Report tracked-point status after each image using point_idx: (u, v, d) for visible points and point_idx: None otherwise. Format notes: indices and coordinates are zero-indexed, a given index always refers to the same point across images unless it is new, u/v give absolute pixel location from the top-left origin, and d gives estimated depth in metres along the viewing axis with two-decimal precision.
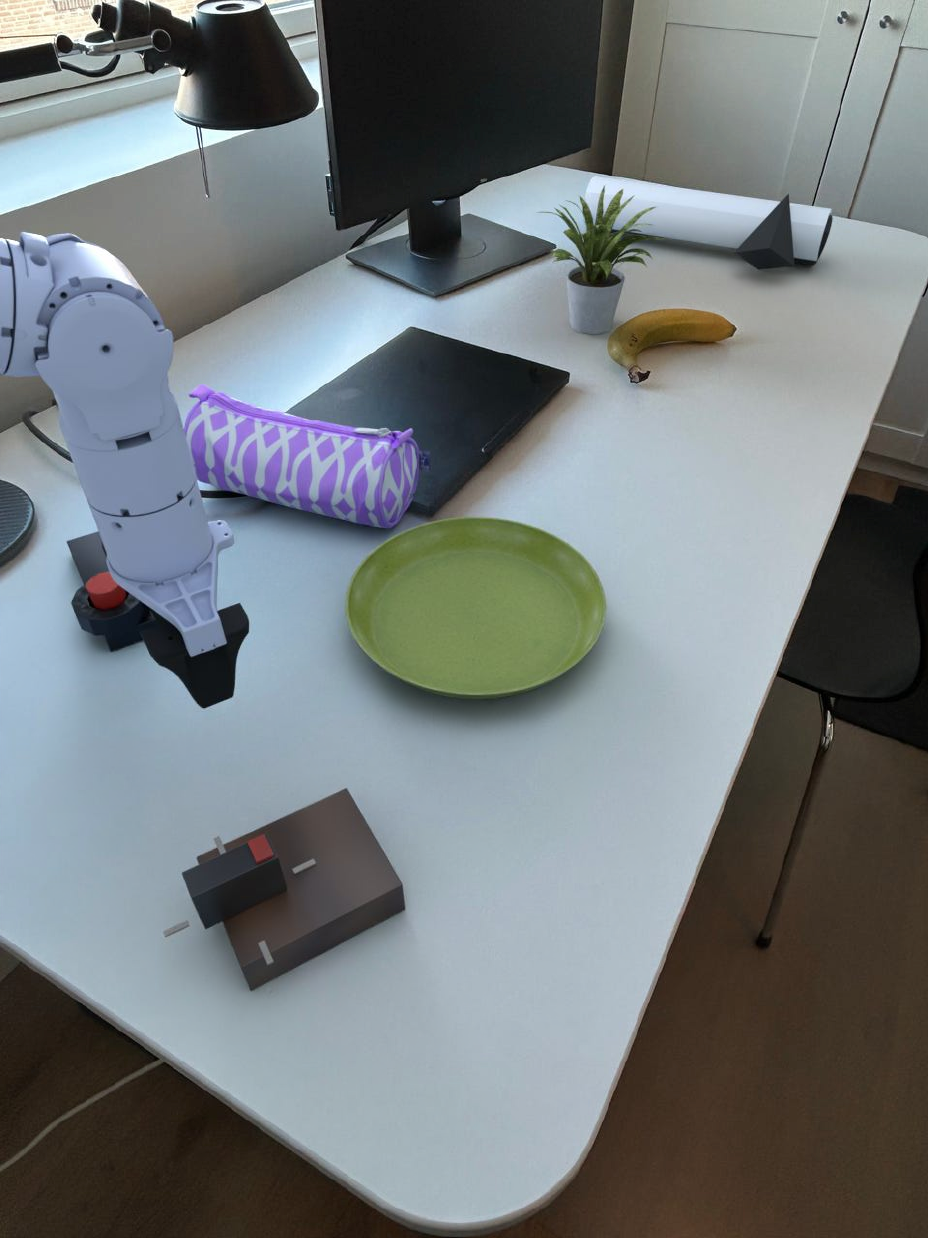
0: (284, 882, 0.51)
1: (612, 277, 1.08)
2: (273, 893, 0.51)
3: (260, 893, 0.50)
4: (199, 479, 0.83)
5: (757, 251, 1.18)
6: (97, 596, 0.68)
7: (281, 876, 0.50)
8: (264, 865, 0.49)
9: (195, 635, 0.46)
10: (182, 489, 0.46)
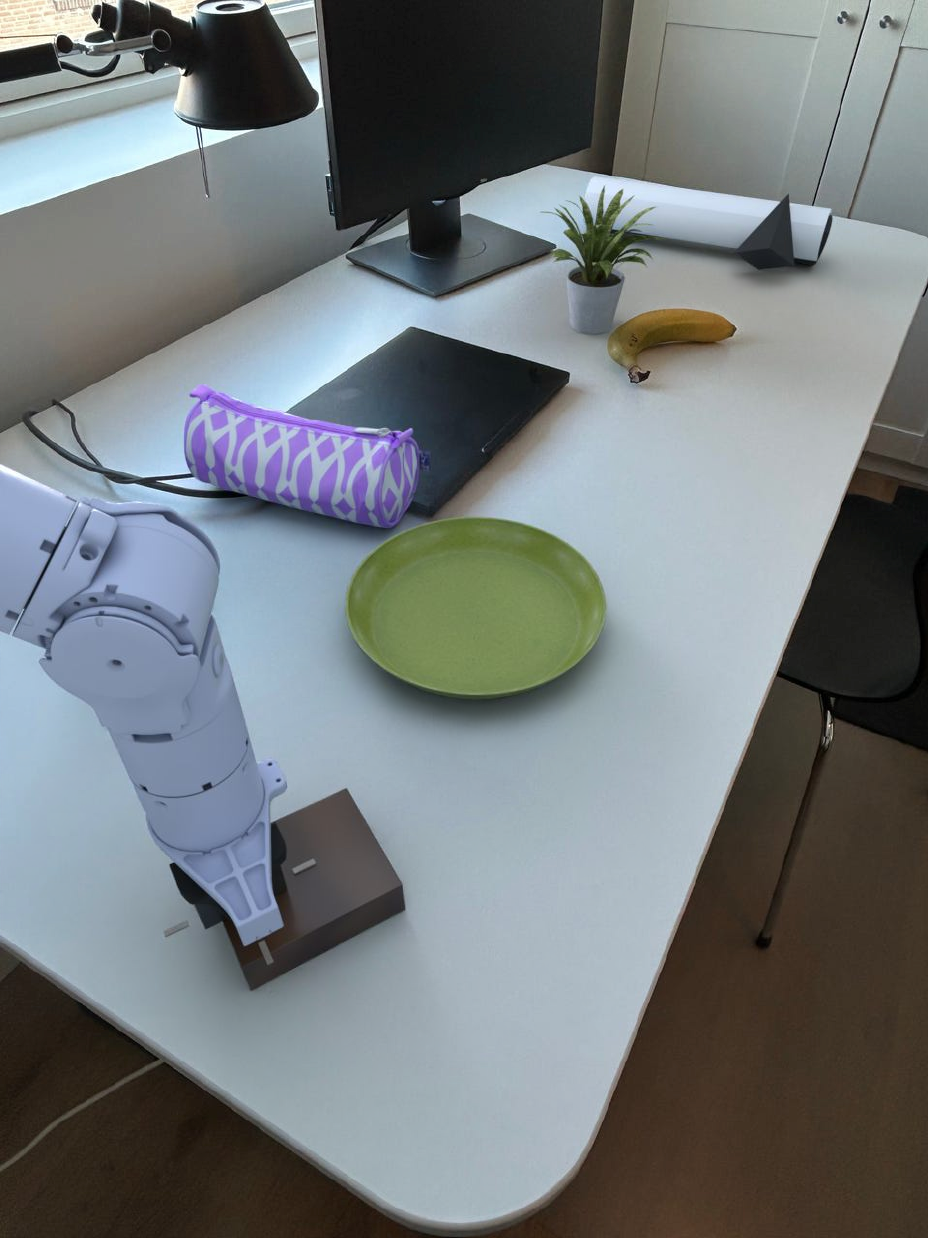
0: (284, 882, 0.51)
1: (612, 277, 1.08)
2: (273, 893, 0.51)
3: None
4: (199, 479, 0.83)
5: (757, 251, 1.18)
6: None
7: (281, 876, 0.50)
8: None
9: (250, 927, 0.40)
10: (211, 780, 0.39)
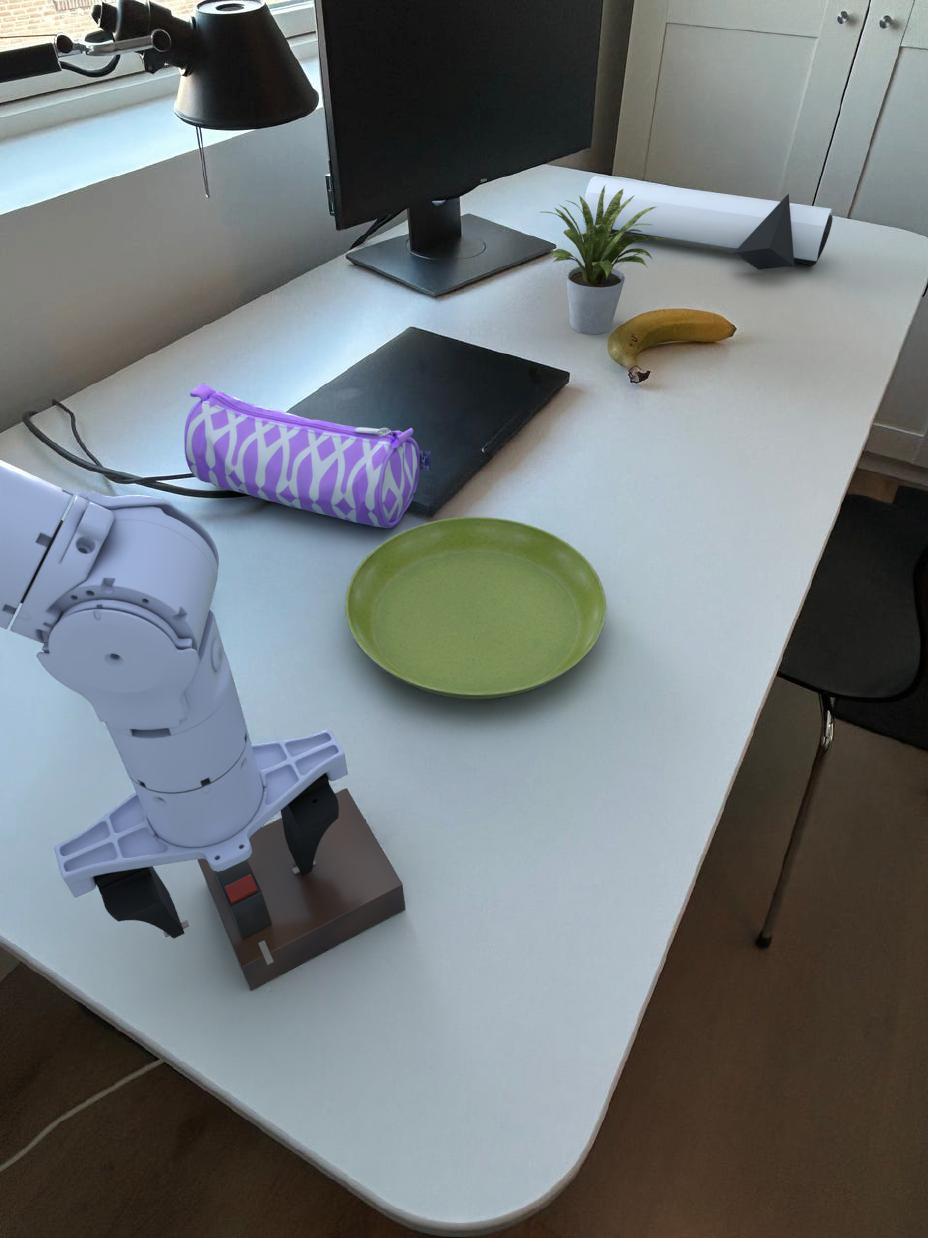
0: (239, 931, 0.49)
1: (612, 277, 1.08)
2: (236, 925, 0.50)
3: (229, 909, 0.50)
4: (200, 478, 0.83)
5: (757, 251, 1.18)
6: None
7: (236, 924, 0.48)
8: (225, 896, 0.47)
9: None
10: (210, 776, 0.39)
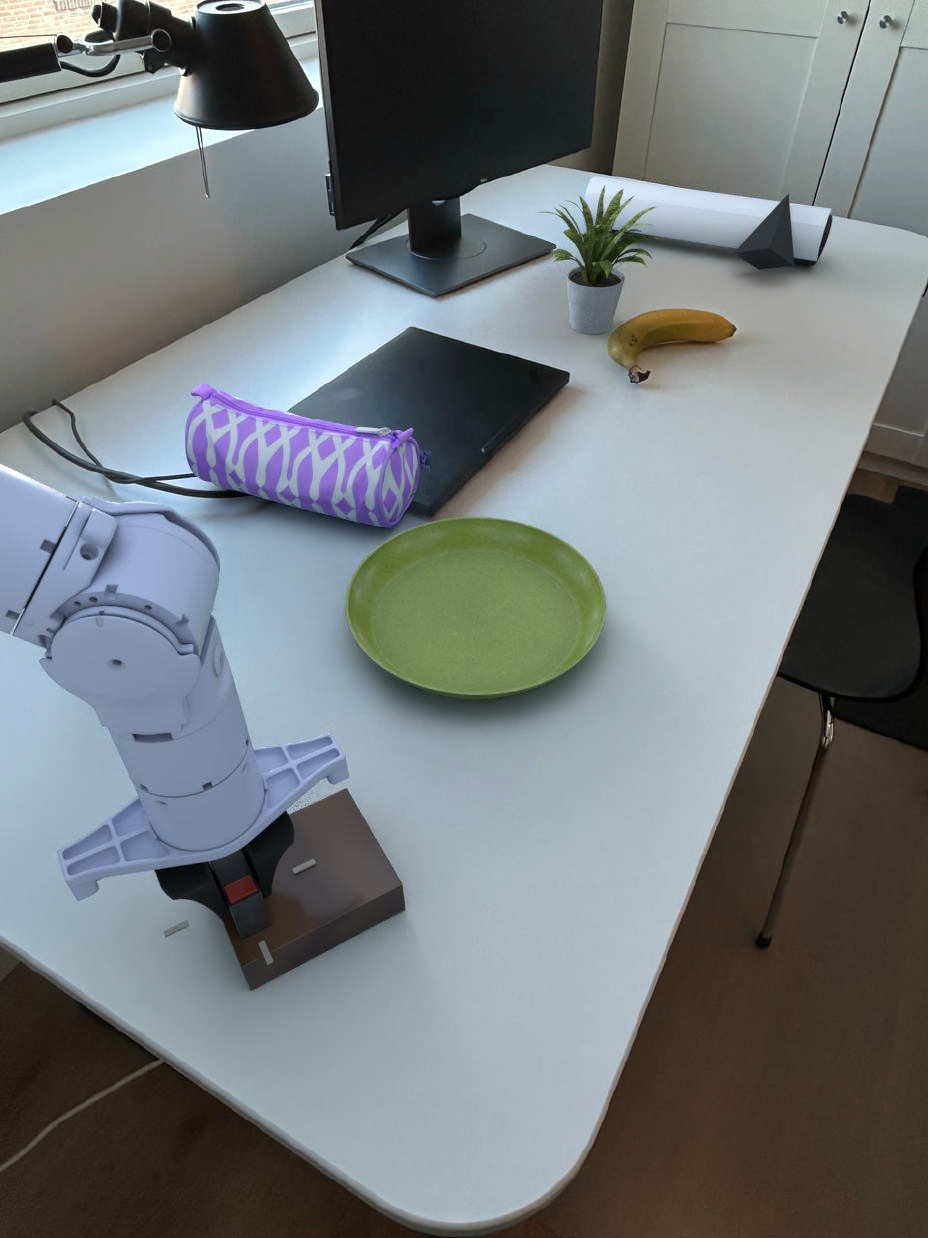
0: (238, 931, 0.49)
1: (612, 277, 1.08)
2: None
3: None
4: (200, 477, 0.83)
5: (757, 251, 1.18)
6: None
7: None
8: (224, 896, 0.47)
9: None
10: (212, 780, 0.40)
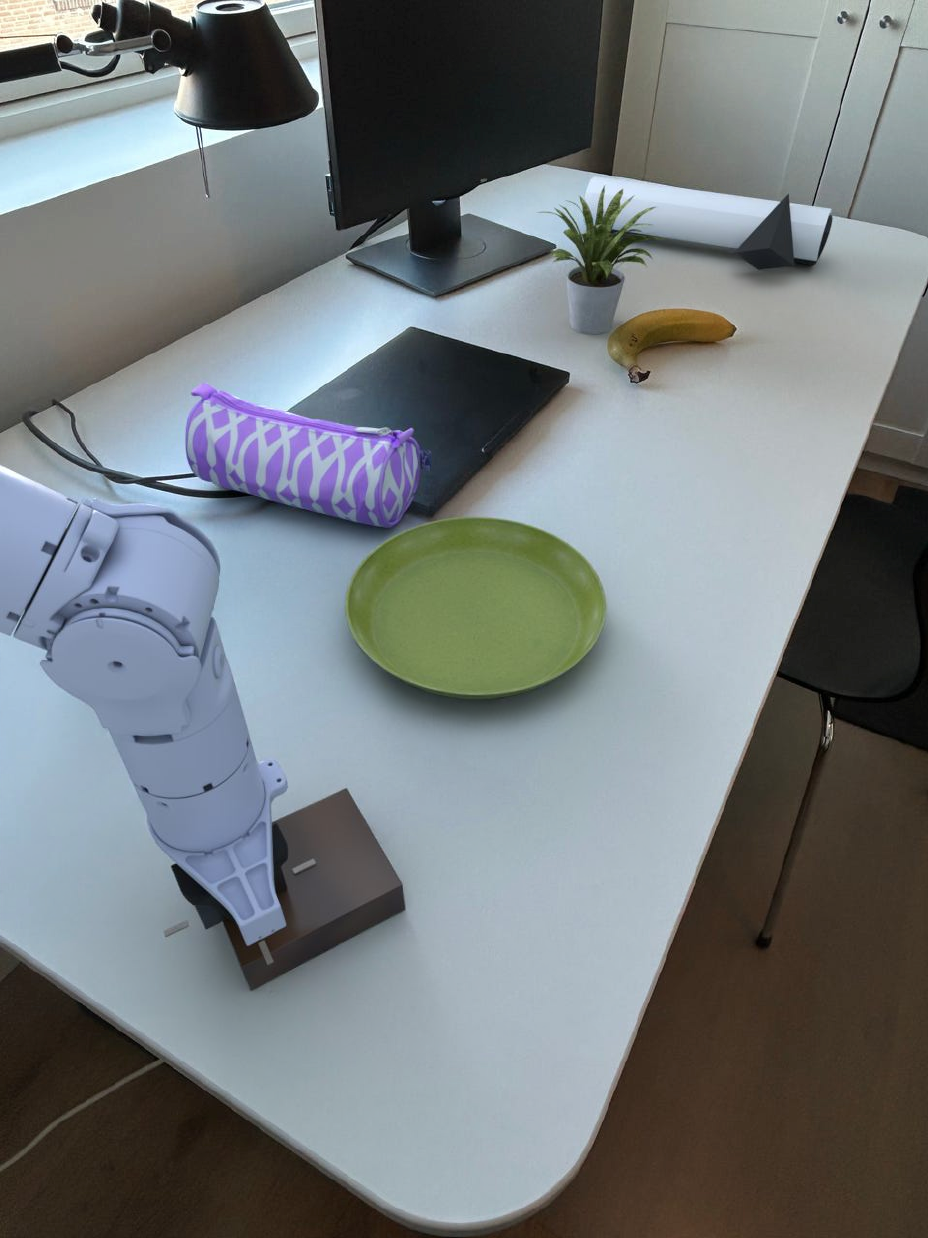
0: None
1: (612, 277, 1.08)
2: None
3: None
4: (201, 477, 0.83)
5: (757, 251, 1.17)
6: None
7: None
8: None
9: (253, 927, 0.40)
10: (212, 781, 0.40)
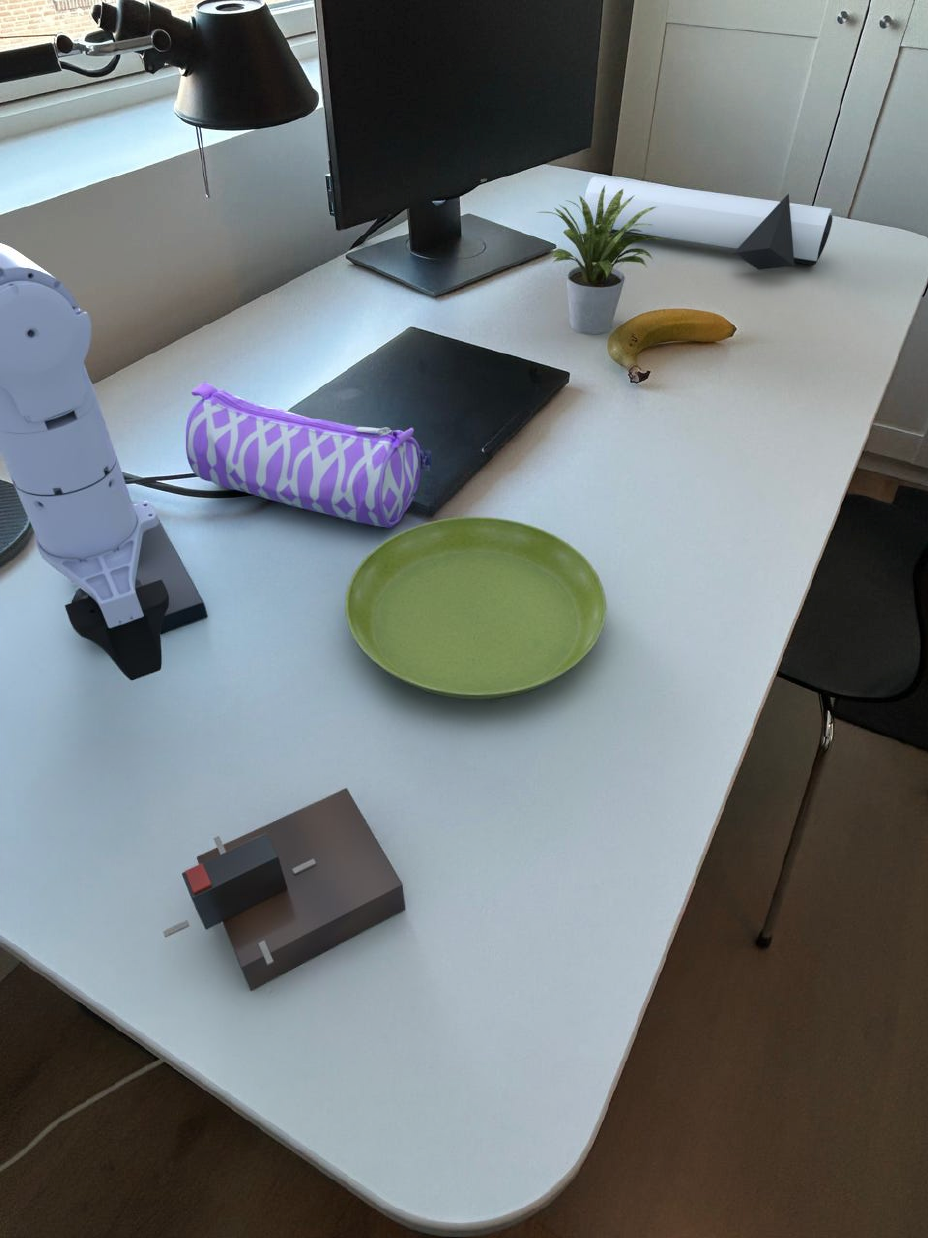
0: None
1: (612, 277, 1.08)
2: None
3: None
4: (201, 477, 0.83)
5: (757, 251, 1.17)
6: None
7: None
8: (197, 867, 0.49)
9: (112, 607, 0.49)
10: (107, 464, 0.49)
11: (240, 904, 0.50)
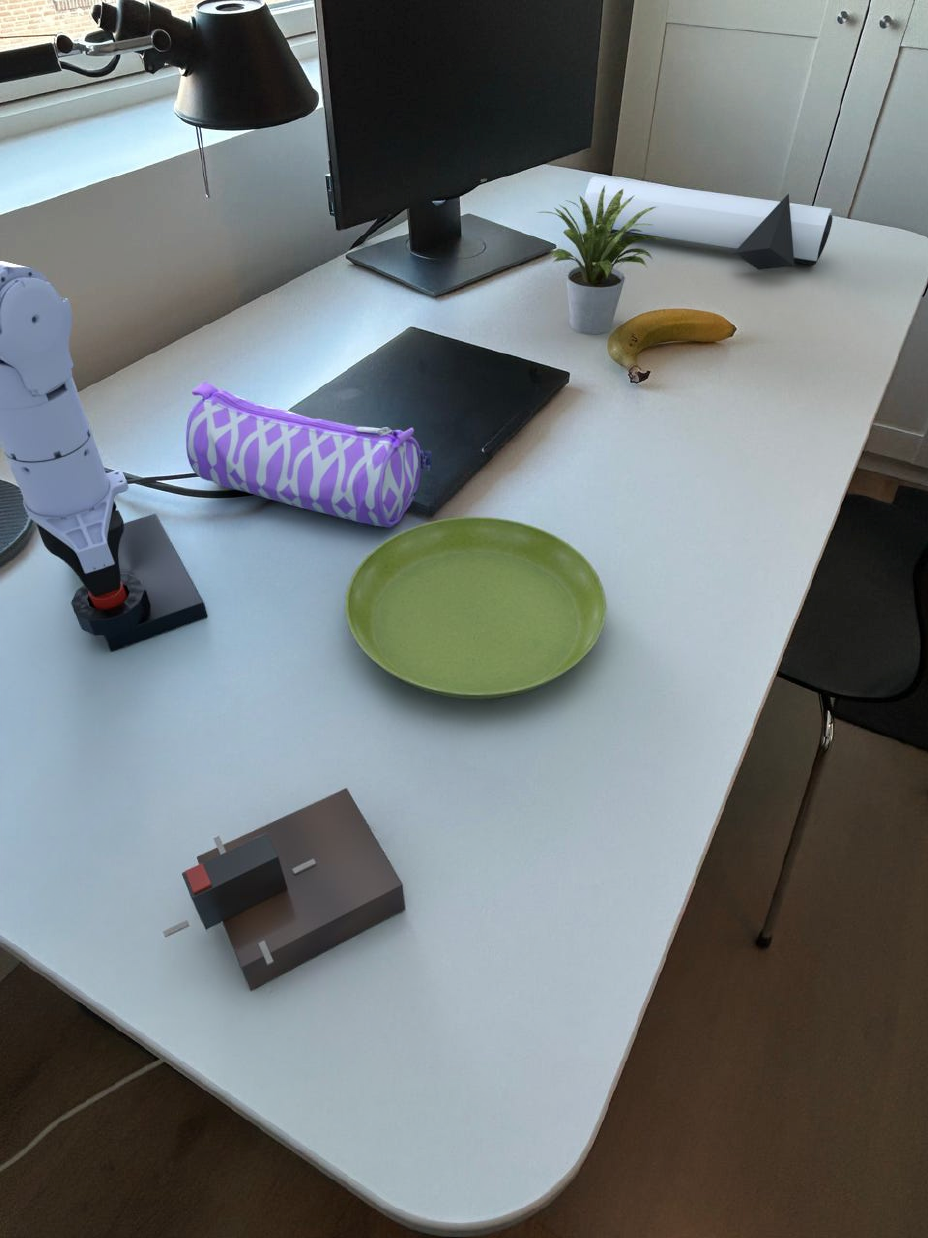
0: None
1: (612, 277, 1.08)
2: None
3: None
4: (201, 476, 0.84)
5: (757, 251, 1.17)
6: (99, 602, 0.68)
7: None
8: (197, 867, 0.49)
9: (87, 555, 0.58)
10: (88, 428, 0.60)
11: (240, 904, 0.50)
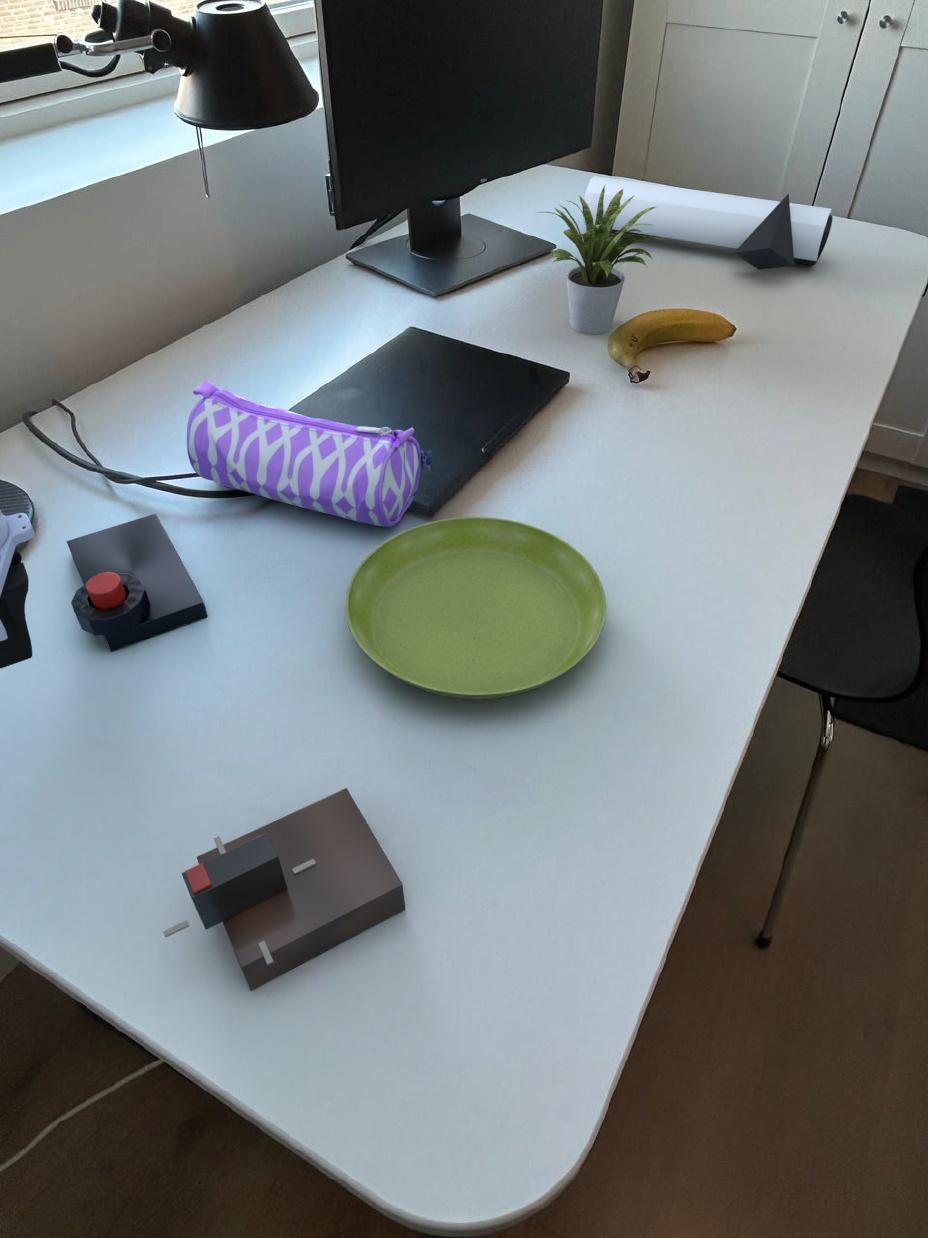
0: None
1: (612, 277, 1.08)
2: None
3: None
4: (202, 476, 0.84)
5: (757, 251, 1.17)
6: (97, 596, 0.68)
7: None
8: (197, 867, 0.49)
9: None
10: None
11: (240, 904, 0.50)
